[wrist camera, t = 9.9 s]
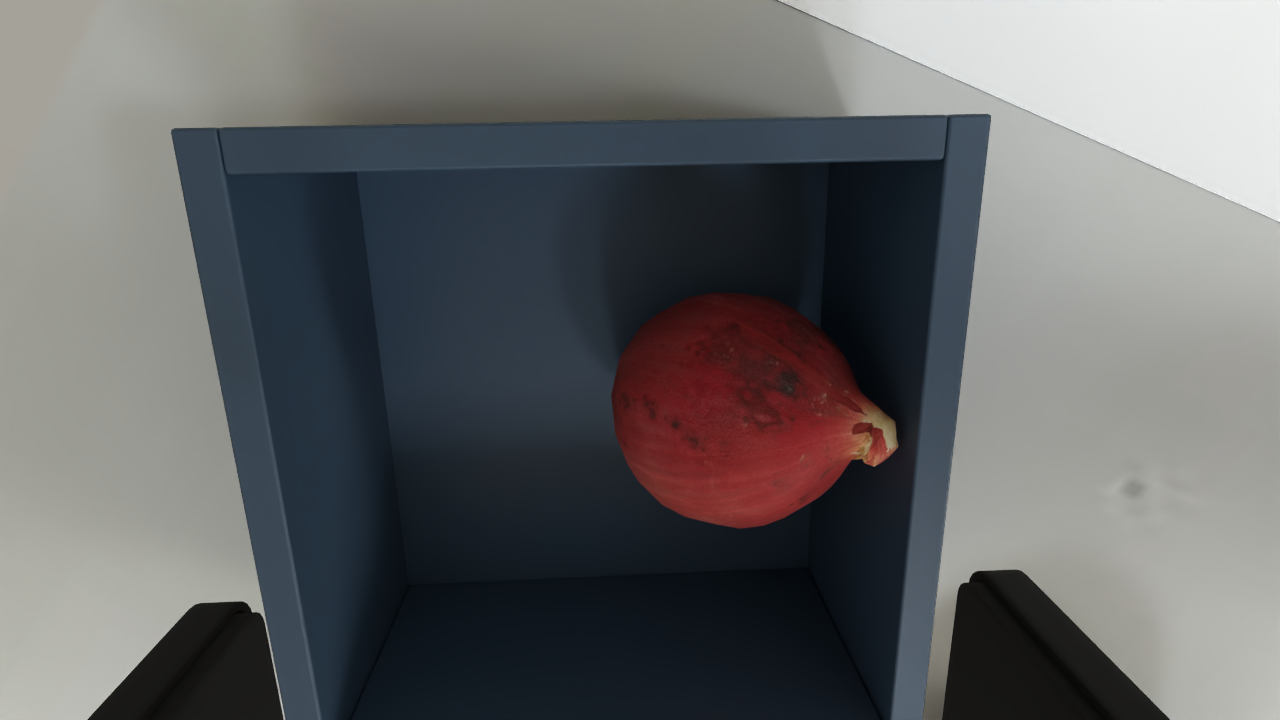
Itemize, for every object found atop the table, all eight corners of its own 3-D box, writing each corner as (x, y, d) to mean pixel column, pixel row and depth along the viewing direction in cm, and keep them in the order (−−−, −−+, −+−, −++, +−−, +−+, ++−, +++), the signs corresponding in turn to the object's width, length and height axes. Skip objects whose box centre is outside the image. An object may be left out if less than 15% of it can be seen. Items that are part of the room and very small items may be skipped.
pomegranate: (508, 414, 18) (783, 470, 12) (621, 249, 20) (894, 233, 14) (630, 529, 21) (888, 614, 15) (714, 376, 23) (964, 402, 18)
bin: (852, 127, 20) (992, 113, 13) (824, 576, 24) (919, 757, 17) (330, 137, 20) (168, 128, 12) (392, 595, 24) (298, 792, 16)
